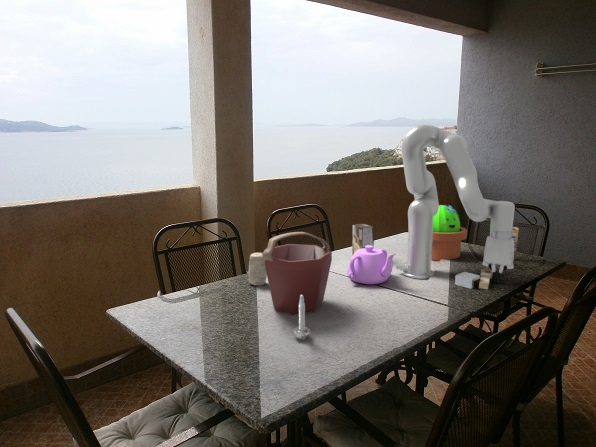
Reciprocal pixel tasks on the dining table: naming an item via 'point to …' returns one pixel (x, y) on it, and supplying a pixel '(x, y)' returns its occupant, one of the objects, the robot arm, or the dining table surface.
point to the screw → (301, 321)
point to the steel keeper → (466, 279)
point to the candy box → (515, 239)
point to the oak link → (485, 278)
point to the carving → (257, 269)
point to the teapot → (370, 265)
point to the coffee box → (362, 236)
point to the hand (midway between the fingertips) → (496, 281)
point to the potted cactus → (447, 234)
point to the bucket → (297, 273)
